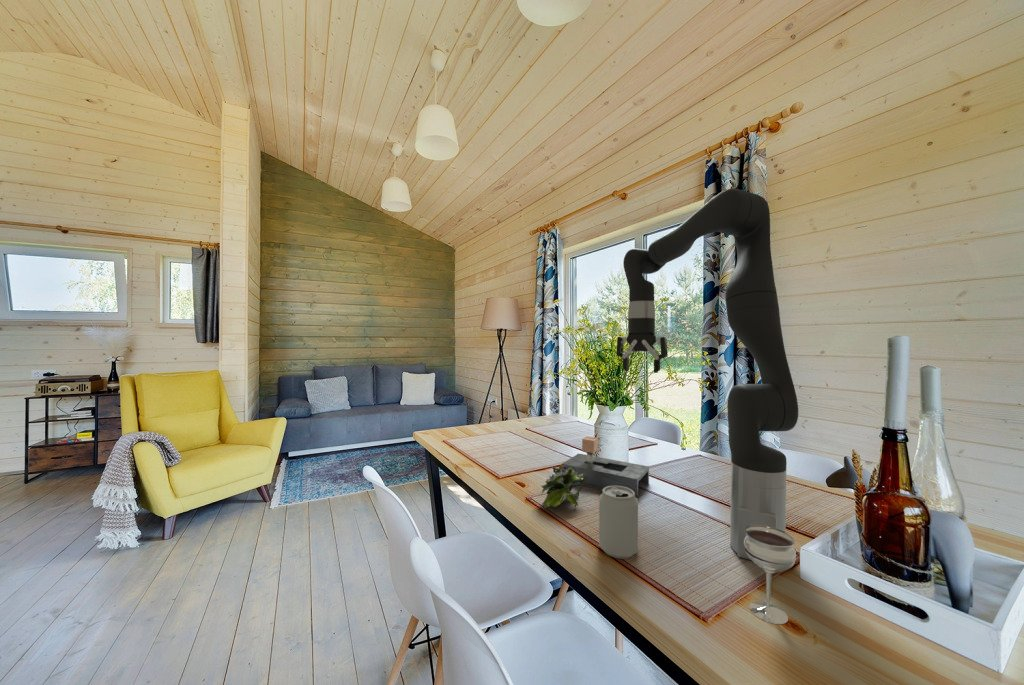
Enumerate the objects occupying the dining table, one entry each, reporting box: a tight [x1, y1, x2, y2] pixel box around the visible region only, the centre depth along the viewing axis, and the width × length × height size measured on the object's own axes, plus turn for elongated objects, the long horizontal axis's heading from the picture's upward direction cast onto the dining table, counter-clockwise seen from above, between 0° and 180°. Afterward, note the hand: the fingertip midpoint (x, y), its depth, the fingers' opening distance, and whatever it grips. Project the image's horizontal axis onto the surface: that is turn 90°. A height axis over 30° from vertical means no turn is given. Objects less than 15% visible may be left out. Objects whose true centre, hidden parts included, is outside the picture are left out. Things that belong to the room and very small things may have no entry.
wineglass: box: [744, 525, 797, 625], centre depth 60 cm, size 7×7×12 cm
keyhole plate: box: [561, 453, 650, 499], centre depth 113 cm, size 12×22×5 cm, turn 56°
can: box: [598, 486, 639, 560], centre depth 77 cm, size 8×8×12 cm
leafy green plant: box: [540, 465, 587, 511], centre depth 98 cm, size 11×11×12 cm
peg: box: [581, 436, 599, 465], centre depth 115 cm, size 4×4×12 cm
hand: (641, 371), depth 114 cm, fingers open, 8 cm apart
